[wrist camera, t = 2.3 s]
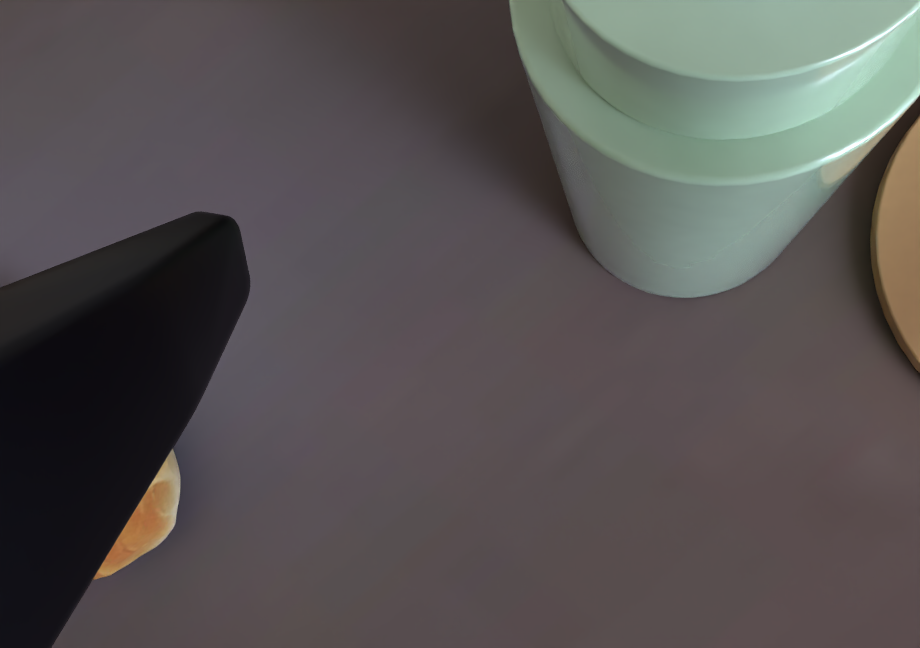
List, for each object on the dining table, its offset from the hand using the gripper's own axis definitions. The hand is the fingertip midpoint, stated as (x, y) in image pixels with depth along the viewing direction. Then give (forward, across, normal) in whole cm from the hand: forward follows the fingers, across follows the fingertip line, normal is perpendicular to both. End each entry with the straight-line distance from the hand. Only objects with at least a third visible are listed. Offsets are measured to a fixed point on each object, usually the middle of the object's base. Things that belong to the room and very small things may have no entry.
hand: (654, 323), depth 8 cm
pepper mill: (+11, 0, +5) cm, 12 cm away
